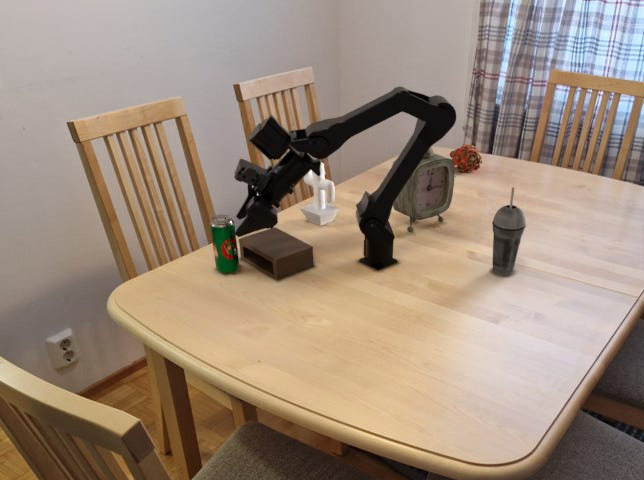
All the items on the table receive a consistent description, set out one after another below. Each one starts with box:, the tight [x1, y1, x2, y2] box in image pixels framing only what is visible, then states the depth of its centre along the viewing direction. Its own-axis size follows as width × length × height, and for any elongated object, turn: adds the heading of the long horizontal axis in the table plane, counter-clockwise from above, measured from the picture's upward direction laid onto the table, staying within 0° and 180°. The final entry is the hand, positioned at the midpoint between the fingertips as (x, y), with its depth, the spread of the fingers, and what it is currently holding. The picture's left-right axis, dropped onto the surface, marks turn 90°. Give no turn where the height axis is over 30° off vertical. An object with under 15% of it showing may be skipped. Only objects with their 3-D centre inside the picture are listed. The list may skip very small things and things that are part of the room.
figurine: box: [299, 161, 341, 227], centre depth 162 cm, size 7×9×15 cm
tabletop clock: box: [391, 146, 455, 234], centre depth 160 cm, size 14×9×25 cm, turn 131°
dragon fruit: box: [449, 144, 483, 173], centre depth 201 cm, size 8×8×12 cm
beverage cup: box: [491, 187, 527, 277], centre depth 141 cm, size 7×7×20 cm
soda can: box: [209, 214, 240, 275], centre depth 139 cm, size 5×5×12 cm
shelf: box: [238, 226, 315, 281], centre depth 145 cm, size 14×10×5 cm
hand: (237, 226), depth 137 cm, fingers open, 9 cm apart
